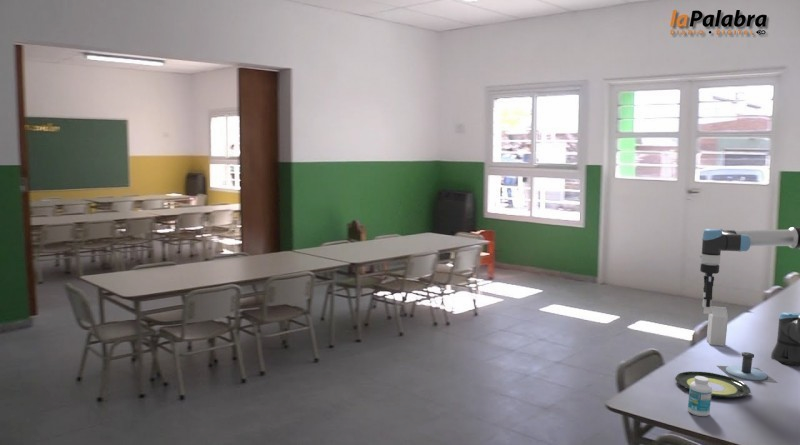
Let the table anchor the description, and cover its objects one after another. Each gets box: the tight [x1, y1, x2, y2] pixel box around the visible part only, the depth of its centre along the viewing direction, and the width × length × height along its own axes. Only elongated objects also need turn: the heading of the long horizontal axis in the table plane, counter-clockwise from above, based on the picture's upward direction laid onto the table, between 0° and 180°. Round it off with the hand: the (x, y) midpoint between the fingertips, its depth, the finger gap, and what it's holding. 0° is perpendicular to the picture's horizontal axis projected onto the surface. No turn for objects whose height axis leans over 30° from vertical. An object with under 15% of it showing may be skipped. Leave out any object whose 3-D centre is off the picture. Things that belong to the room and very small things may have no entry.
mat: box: [716, 365, 778, 384], centre depth 280 cm, size 18×18×1 cm
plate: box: [674, 371, 751, 399], centre depth 264 cm, size 28×28×2 cm
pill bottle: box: [687, 376, 713, 417], centre depth 237 cm, size 8×7×14 cm
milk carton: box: [706, 306, 729, 347], centre depth 324 cm, size 7×7×19 cm
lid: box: [726, 351, 768, 382], centre depth 279 cm, size 16×16×9 cm
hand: (706, 310), depth 287 cm, fingers open, 13 cm apart
